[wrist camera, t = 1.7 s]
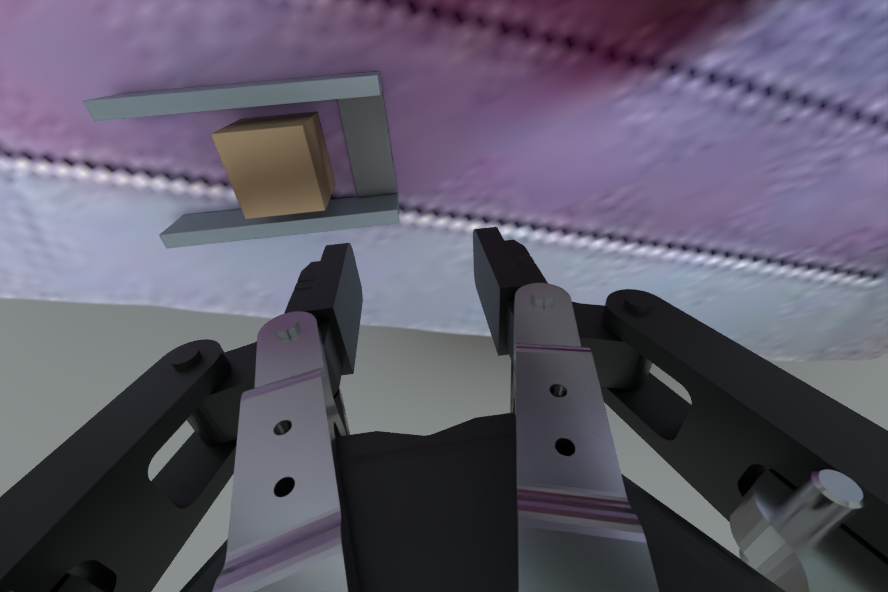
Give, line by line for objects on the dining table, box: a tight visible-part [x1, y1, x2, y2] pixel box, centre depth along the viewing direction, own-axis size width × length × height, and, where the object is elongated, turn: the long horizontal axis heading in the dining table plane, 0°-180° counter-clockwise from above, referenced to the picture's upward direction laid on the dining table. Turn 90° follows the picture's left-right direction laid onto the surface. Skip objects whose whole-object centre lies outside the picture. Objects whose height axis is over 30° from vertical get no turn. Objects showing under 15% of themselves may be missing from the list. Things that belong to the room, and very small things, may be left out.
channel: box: [83, 71, 399, 248], centre depth 24 cm, size 9×16×4 cm, turn 94°
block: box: [211, 112, 335, 219], centre depth 24 cm, size 5×5×5 cm
